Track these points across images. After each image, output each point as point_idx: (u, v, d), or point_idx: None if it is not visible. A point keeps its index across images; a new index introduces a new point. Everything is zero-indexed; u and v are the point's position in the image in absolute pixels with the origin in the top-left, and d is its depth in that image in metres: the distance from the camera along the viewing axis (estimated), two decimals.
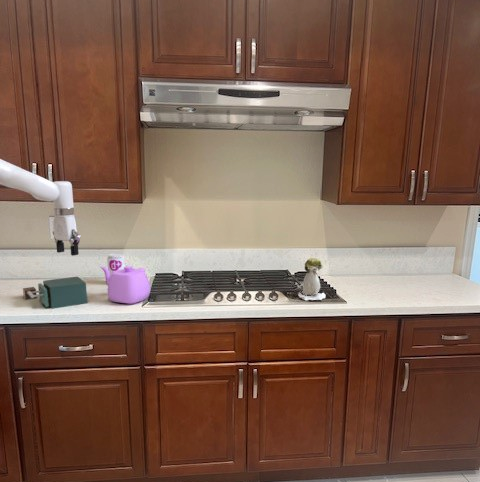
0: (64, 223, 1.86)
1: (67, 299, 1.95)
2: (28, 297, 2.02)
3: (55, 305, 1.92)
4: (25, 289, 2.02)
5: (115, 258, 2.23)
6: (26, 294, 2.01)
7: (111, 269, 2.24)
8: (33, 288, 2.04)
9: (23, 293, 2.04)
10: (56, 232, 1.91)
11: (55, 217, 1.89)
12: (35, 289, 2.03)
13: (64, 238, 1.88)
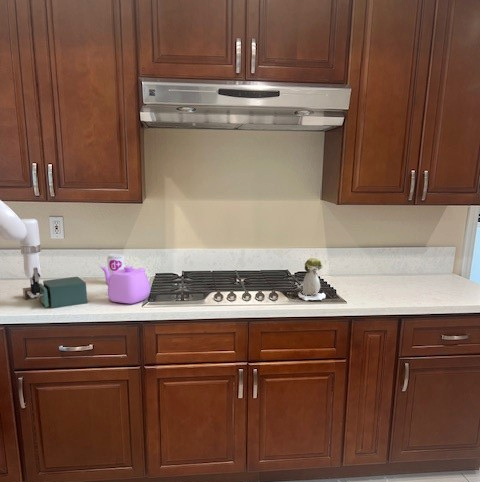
0: (26, 261, 1.85)
1: (67, 299, 1.95)
2: (28, 297, 2.02)
3: (55, 305, 1.92)
4: (25, 289, 2.02)
5: (115, 258, 2.23)
6: (26, 294, 2.01)
7: (111, 269, 2.24)
8: None
9: (23, 293, 2.04)
10: (24, 268, 1.91)
11: None
12: None
13: (27, 276, 1.87)
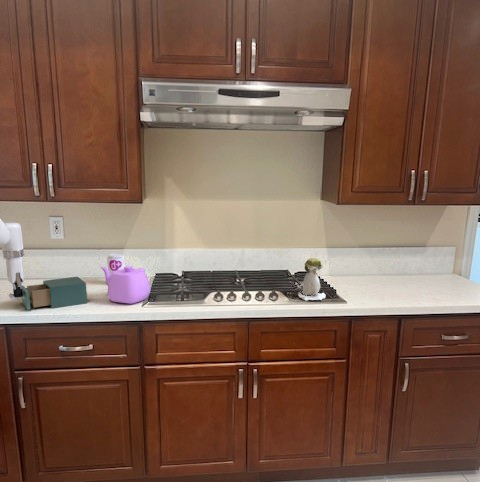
0: (9, 266, 1.82)
1: (67, 299, 1.95)
2: None
3: (55, 305, 1.92)
4: None
5: (115, 258, 2.23)
6: None
7: (111, 269, 2.24)
8: None
9: None
10: (7, 273, 1.87)
11: None
12: None
13: (10, 281, 1.84)
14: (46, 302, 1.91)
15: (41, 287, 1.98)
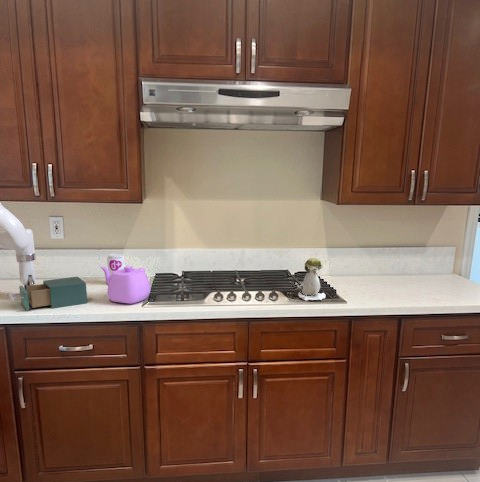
0: (21, 269, 1.97)
1: (67, 299, 1.95)
2: None
3: (55, 305, 1.92)
4: (25, 289, 2.02)
5: (115, 258, 2.23)
6: None
7: (111, 269, 2.24)
8: None
9: None
10: (20, 275, 2.02)
11: None
12: None
13: (22, 282, 1.99)
14: (45, 302, 1.91)
15: (40, 287, 1.98)
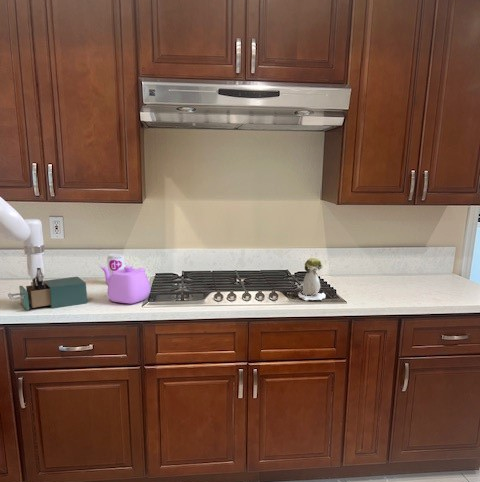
0: (30, 262, 1.86)
1: (67, 299, 1.95)
2: None
3: (55, 305, 1.92)
4: (34, 283, 1.91)
5: (115, 258, 2.23)
6: None
7: (111, 269, 2.24)
8: None
9: None
10: (28, 269, 1.91)
11: None
12: (44, 283, 1.92)
13: (31, 276, 1.88)
14: (45, 302, 1.91)
15: None
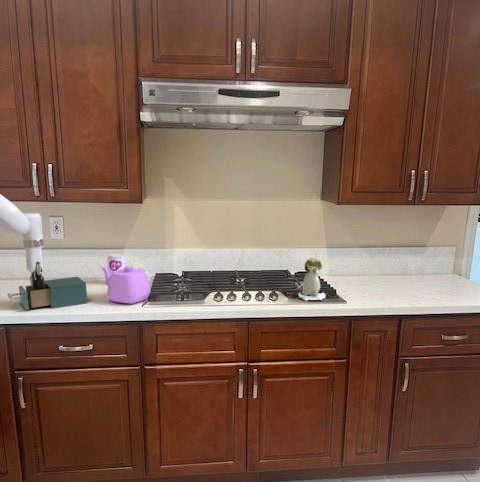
0: (29, 255, 1.85)
1: (67, 299, 1.95)
2: None
3: (55, 305, 1.92)
4: (32, 277, 1.90)
5: (115, 258, 2.23)
6: (33, 282, 1.89)
7: (111, 269, 2.24)
8: None
9: (30, 282, 1.92)
10: (26, 263, 1.91)
11: None
12: (43, 277, 1.91)
13: (29, 270, 1.87)
14: (44, 302, 1.91)
15: None
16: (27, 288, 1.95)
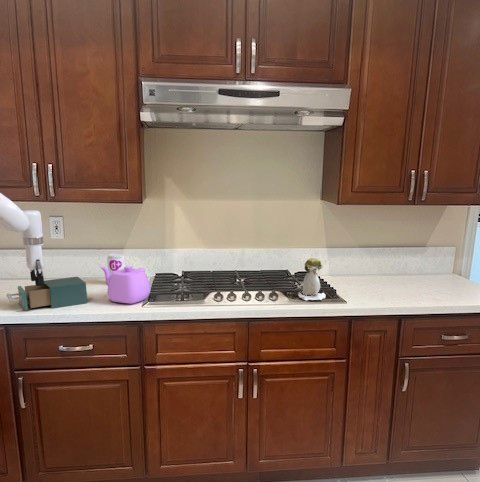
0: (29, 253, 1.85)
1: (67, 299, 1.95)
2: None
3: (55, 305, 1.92)
4: None
5: (115, 258, 2.23)
6: None
7: (111, 269, 2.24)
8: None
9: None
10: (26, 260, 1.90)
11: None
12: None
13: (30, 267, 1.87)
14: (43, 302, 1.91)
15: (39, 288, 1.97)
16: (26, 288, 1.94)
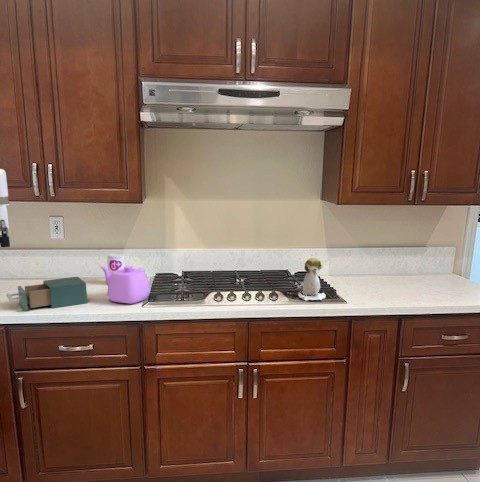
0: None
1: (67, 299, 1.95)
2: None
3: (55, 305, 1.92)
4: None
5: (115, 258, 2.23)
6: None
7: (111, 269, 2.24)
8: None
9: None
10: None
11: None
12: None
13: None
14: (43, 302, 1.91)
15: (39, 288, 1.97)
16: (26, 288, 1.94)
